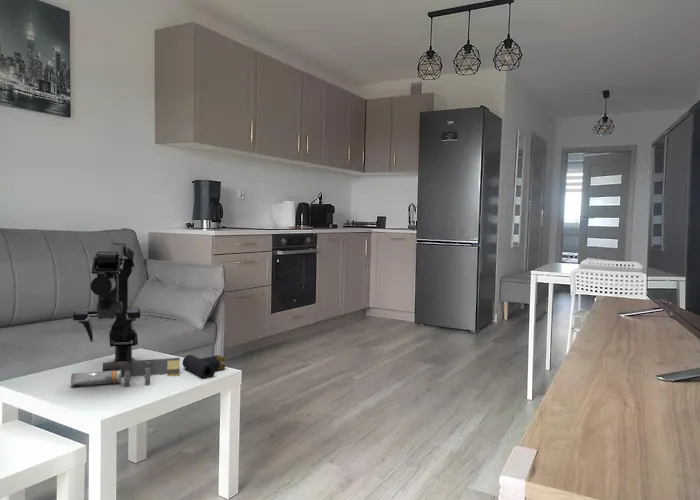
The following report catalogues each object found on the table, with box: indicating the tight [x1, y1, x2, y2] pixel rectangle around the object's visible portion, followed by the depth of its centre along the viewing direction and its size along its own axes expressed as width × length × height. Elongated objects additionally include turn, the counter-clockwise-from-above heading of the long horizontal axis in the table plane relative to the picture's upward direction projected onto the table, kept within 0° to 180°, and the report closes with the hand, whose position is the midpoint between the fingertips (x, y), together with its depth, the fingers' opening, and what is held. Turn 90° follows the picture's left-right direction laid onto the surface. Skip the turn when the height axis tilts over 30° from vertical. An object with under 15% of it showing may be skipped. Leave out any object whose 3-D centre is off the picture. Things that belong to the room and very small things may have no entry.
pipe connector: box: [182, 354, 226, 379], centre depth 177 cm, size 12×5×15 cm
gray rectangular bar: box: [102, 357, 181, 378], centre depth 169 cm, size 4×24×5 cm, turn 110°
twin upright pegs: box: [123, 361, 152, 388], centre depth 164 cm, size 10×8×5 cm
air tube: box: [70, 370, 123, 388], centre depth 160 cm, size 14×4×4 cm, turn 110°
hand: (108, 340), depth 158 cm, fingers open, 9 cm apart
